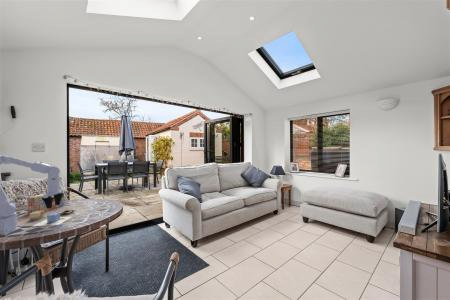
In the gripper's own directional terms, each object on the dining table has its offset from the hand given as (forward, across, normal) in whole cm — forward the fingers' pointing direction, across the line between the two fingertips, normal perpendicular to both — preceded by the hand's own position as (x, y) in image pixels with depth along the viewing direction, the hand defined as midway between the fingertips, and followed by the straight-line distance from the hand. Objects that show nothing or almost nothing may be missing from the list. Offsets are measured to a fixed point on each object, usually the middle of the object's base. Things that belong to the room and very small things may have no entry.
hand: (53, 206), depth 121 cm
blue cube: (+9, 0, 0) cm, 9 cm away
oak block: (+10, +7, +14) cm, 18 cm away
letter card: (+10, 0, 0) cm, 10 cm away
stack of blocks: (+10, +30, +23) cm, 39 cm away
